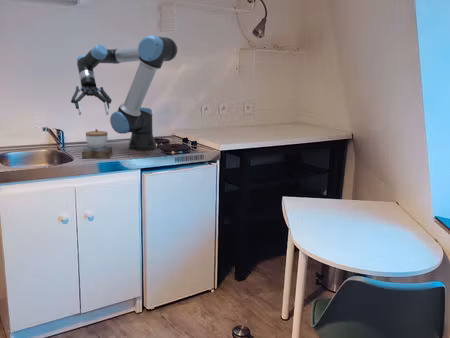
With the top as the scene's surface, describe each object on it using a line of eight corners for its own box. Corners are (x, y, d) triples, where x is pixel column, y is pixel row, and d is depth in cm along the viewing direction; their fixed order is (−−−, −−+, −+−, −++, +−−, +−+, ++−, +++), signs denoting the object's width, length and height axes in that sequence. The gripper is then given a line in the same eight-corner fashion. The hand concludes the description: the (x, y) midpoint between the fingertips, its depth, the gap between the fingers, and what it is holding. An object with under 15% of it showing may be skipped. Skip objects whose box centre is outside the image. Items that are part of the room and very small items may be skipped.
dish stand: (112, 153, 221) (112, 145, 219) (109, 158, 208) (108, 149, 207) (87, 153, 219) (86, 145, 218) (82, 158, 206) (81, 150, 205)
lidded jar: (104, 149, 207) (103, 131, 205) (83, 149, 207) (82, 130, 205) (110, 145, 218) (110, 128, 215) (90, 145, 218) (89, 127, 215)
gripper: (110, 85, 230) (116, 117, 222) (62, 84, 218) (67, 117, 210) (112, 77, 224) (119, 109, 216) (63, 75, 212) (69, 109, 204)
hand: (94, 113), depth 213 cm, fingers open, 13 cm apart
